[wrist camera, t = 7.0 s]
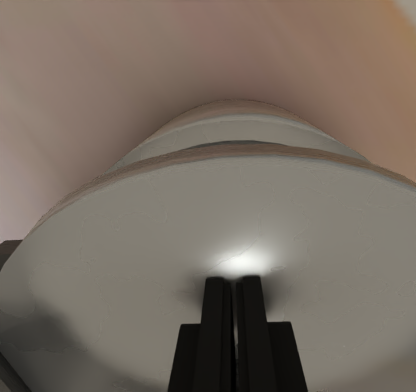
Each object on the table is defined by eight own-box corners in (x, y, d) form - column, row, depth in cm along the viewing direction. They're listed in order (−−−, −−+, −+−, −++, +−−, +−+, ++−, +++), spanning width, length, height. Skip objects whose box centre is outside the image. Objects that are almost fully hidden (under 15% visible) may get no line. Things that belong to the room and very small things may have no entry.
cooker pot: (339, 310, 30) (406, 454, 18) (107, 316, 32) (40, 449, 20) (354, 88, 23) (473, 102, 12) (58, 114, 25) (-81, 147, 14)
